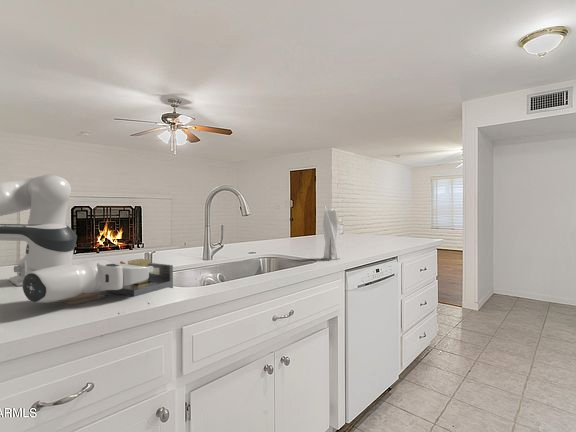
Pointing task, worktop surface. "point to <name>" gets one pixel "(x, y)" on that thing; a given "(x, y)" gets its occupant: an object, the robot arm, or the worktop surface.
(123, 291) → the tray
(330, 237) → the skyscraper
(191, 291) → the worktop surface
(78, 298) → the brown square coaster
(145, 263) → the tan wooden upright block
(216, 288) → the worktop surface
